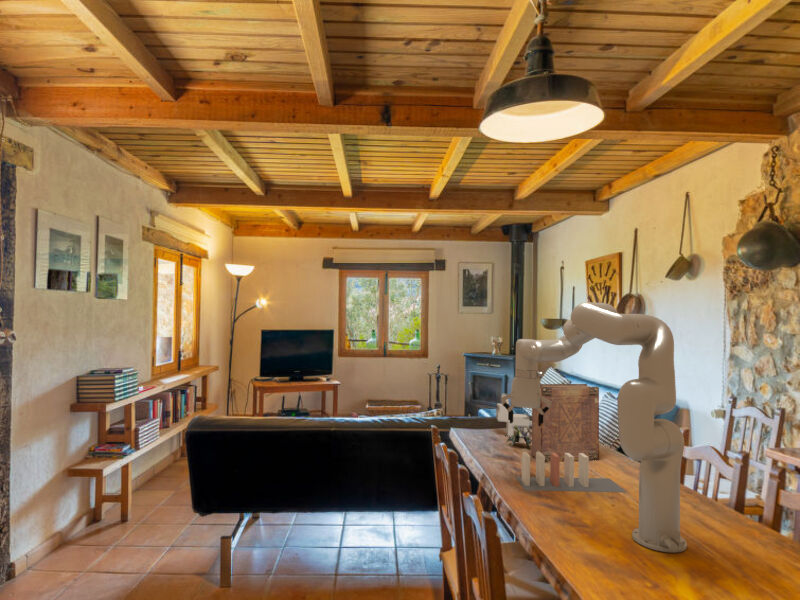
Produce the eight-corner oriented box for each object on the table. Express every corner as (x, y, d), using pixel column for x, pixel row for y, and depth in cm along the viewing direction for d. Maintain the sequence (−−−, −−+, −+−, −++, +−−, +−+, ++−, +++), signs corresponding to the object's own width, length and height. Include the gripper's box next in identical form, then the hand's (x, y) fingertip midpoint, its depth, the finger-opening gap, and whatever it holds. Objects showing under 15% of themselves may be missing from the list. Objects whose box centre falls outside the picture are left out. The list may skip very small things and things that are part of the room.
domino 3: (559, 486, 168) (559, 456, 168) (554, 486, 168) (554, 456, 168) (554, 481, 173) (555, 452, 173) (550, 481, 173) (550, 452, 173)
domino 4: (573, 486, 168) (574, 457, 168) (569, 486, 168) (569, 456, 168) (568, 481, 173) (569, 452, 173) (564, 481, 173) (564, 452, 173)
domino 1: (529, 485, 168) (530, 456, 168) (525, 485, 168) (525, 455, 168) (526, 480, 173) (526, 452, 173) (521, 480, 173) (521, 451, 173)
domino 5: (588, 486, 168) (588, 457, 168) (583, 486, 168) (584, 457, 168) (583, 482, 173) (583, 453, 173) (578, 481, 173) (578, 453, 173)
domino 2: (544, 486, 168) (544, 456, 168) (539, 485, 168) (540, 456, 168) (540, 481, 173) (540, 452, 173) (535, 481, 173) (536, 452, 173)
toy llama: (534, 438, 237) (535, 396, 238) (497, 437, 239) (498, 395, 239) (531, 434, 244) (532, 394, 245) (496, 433, 246) (496, 393, 247)
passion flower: (527, 459, 220) (538, 441, 214) (504, 455, 219) (514, 437, 212) (522, 440, 230) (532, 422, 223) (500, 436, 228) (510, 418, 222)
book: (586, 454, 211) (587, 383, 212) (599, 460, 202) (599, 386, 203) (531, 456, 207) (532, 384, 208) (541, 462, 198) (542, 387, 199)
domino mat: (627, 494, 164) (627, 492, 164) (524, 492, 163) (524, 490, 164) (609, 480, 178) (609, 478, 178) (515, 478, 177) (515, 476, 178)
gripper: (553, 375, 172) (552, 424, 172) (503, 371, 178) (502, 419, 178) (551, 377, 165) (550, 429, 165) (499, 374, 171) (498, 423, 171)
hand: (525, 424), depth 171 cm, fingers open, 9 cm apart
